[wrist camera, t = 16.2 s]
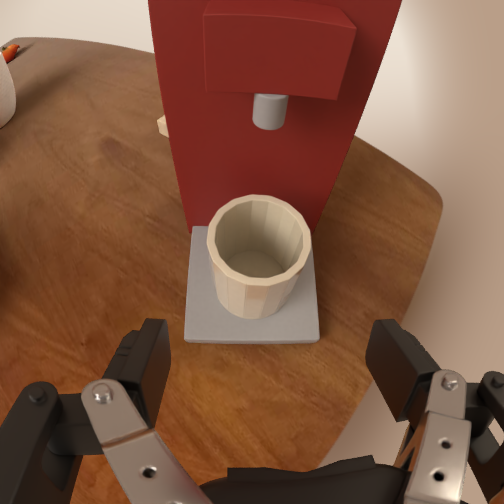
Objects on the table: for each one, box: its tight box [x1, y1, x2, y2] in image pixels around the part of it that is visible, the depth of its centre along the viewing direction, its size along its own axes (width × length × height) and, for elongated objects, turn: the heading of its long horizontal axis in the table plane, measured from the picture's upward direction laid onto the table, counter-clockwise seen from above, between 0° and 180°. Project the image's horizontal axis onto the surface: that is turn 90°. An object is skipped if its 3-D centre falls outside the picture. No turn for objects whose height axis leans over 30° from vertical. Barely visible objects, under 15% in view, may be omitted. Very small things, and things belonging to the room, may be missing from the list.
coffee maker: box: [148, 0, 402, 344], centre depth 17 cm, size 16×12×27 cm
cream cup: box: [207, 194, 311, 320], centre depth 23 cm, size 6×6×8 cm
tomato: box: [2, 44, 20, 63], centre depth 52 cm, size 8×7×7 cm
